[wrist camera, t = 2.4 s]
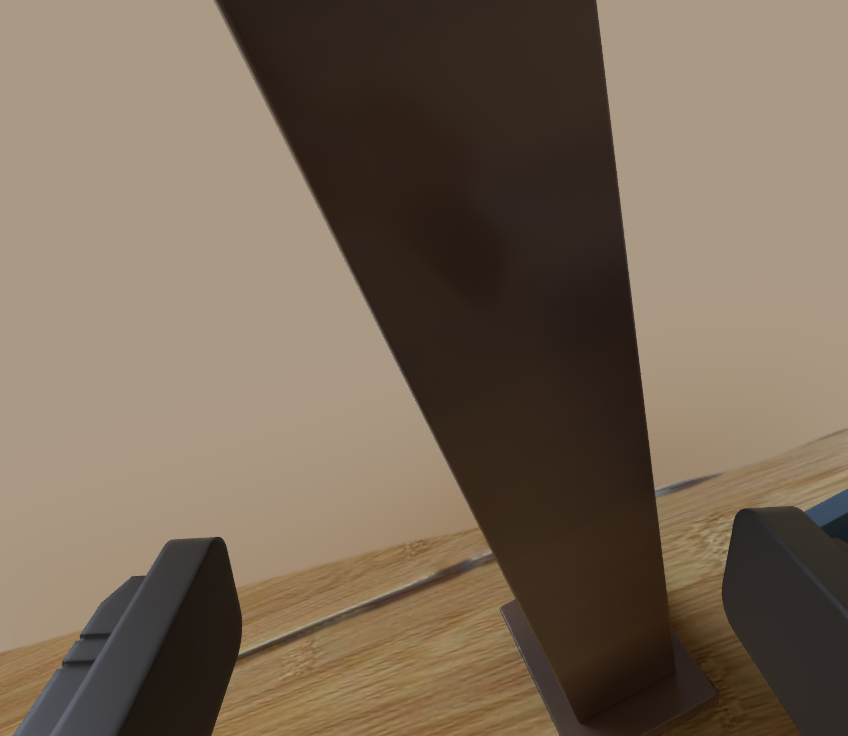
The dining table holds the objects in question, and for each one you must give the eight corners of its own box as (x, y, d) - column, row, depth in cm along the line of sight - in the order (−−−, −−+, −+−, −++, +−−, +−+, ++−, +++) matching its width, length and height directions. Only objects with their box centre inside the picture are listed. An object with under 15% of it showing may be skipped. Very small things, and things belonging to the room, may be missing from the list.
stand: (503, 616, 31) (106, -95, 11) (616, 557, 32) (435, -246, 11) (581, 778, 25) (-1, -160, 5) (719, 702, 25) (743, -494, 5)
